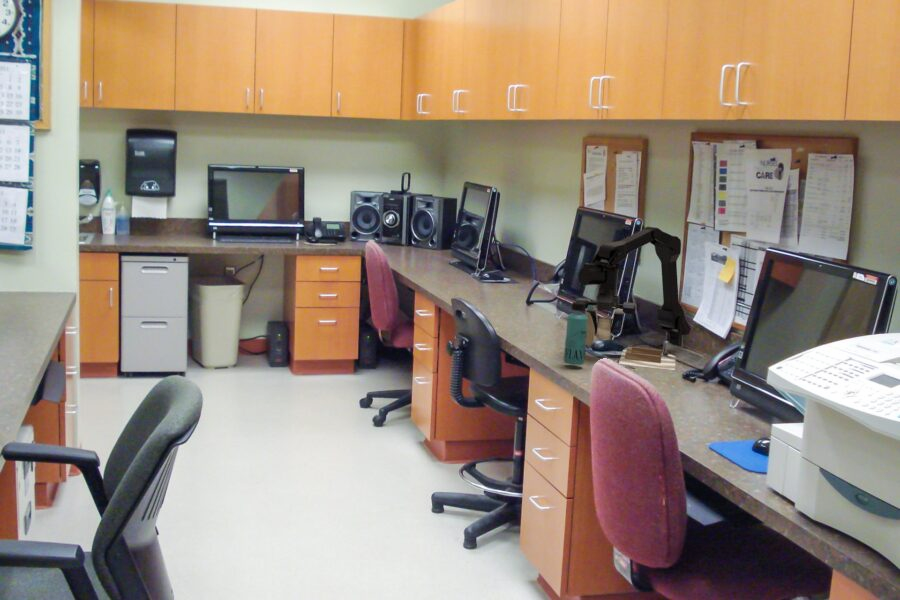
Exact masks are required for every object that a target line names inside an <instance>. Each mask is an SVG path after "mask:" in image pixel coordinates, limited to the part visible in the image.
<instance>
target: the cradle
mask: <svg viewBox="0 0 900 600" xmlns="http://www.w3.org/2000/svg"><path fill="white" fill-rule="evenodd" d="M662 354H663V349H658V348H657V349H656V348H648V347H646V348H645V347H638V346H629V345H628V346H627V349H623V350H622V353H621V354H620V355H621V356H620V359H619V362H618V365H619V364H621V365H623V366H625V367H626V369H636V368H635V367H643V368H644V367H645V368H652V369H662V370H670V371H671V370H672V371H675V370H676V361H677V360H676V359H677V357H676V356H673V355H671V354H668V355H662ZM633 366H635V367H633Z"/></svg>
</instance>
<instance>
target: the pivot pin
mask: <svg viewBox="0 0 900 600" xmlns="http://www.w3.org/2000/svg"><path fill="white" fill-rule="evenodd" d="M597 322H598V324H597V332H596V339H598V340H605V341H608V340H611V336H612V334H611V326H612V322H613V318H611V317H608V316H597Z"/></svg>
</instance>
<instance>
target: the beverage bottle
mask: <svg viewBox="0 0 900 600" xmlns="http://www.w3.org/2000/svg"><path fill="white" fill-rule="evenodd" d="M571 305H572V306H571V310H573V311H579V312H571V313H570V314H568V315H567V318H566V320H567V321H566V329H565V330H566V331H565V332H566V333H565V341H564V351H563V353H564V354H563V363H564V364H567V365H574V366H580V365H584V363H585V360H586V348H587V347H586V346H587V345H586V335H587V321H588V317H587V316H586V315H585V313H582V312H583V311H584V312H585V311H586V309H585V303H581V302H576V301H575V302H572V304H571Z"/></svg>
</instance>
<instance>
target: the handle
mask: <svg viewBox="0 0 900 600" xmlns="http://www.w3.org/2000/svg"><path fill="white" fill-rule="evenodd" d="M596 309H597V308H596ZM584 314H585V315H586V316H587V317H588V321H587V335H586V347H585V348H588V349H589V348H590V347H588V346H593V344H594V340H595V333H596V332H595V327H594V323H593V319H592V317H591V315H590V313H589V312H587V308H586V309H585V313H584Z"/></svg>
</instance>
